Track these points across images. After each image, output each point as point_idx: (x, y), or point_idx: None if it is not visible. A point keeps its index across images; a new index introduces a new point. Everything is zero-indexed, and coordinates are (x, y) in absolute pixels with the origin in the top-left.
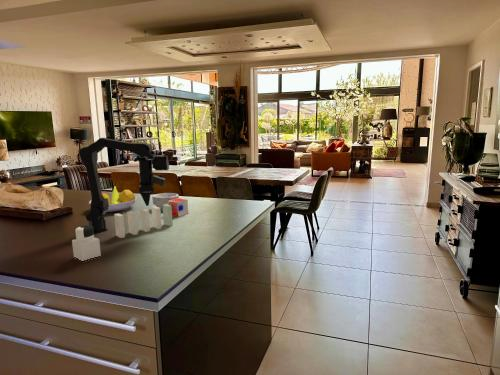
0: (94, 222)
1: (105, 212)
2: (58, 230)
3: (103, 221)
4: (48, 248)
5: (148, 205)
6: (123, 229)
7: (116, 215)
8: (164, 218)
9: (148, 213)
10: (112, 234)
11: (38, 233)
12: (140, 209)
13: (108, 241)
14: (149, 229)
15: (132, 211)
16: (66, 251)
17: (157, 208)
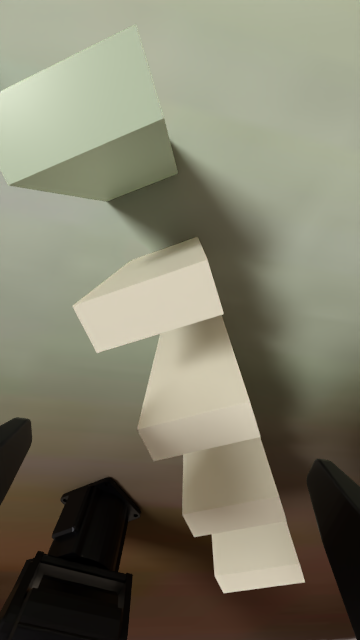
0: (115, 564)
1: (59, 582)
2: None
3: (87, 529)
4: (235, 595)
5: (330, 464)
6: None
7: (262, 585)
8: (105, 191)
9: (243, 382)
10: None
11: None
12: (165, 455)
13: (275, 481)
14: (222, 320)
15: (210, 510)
16: None
17: (216, 299)
